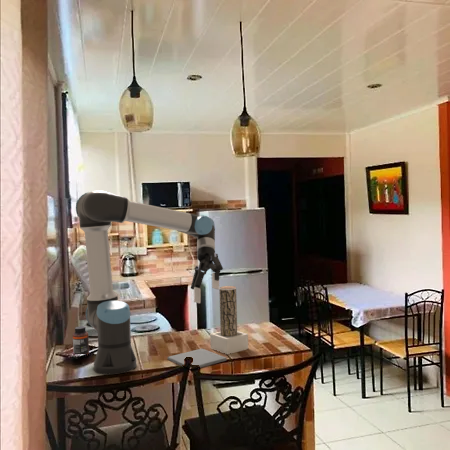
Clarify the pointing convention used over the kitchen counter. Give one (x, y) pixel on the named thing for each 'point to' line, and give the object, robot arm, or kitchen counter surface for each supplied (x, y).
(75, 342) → the supplement bottle
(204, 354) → the mat
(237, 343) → the box
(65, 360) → the kitchen counter surface
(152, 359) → the kitchen counter surface
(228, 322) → the bark pattern cylinder
